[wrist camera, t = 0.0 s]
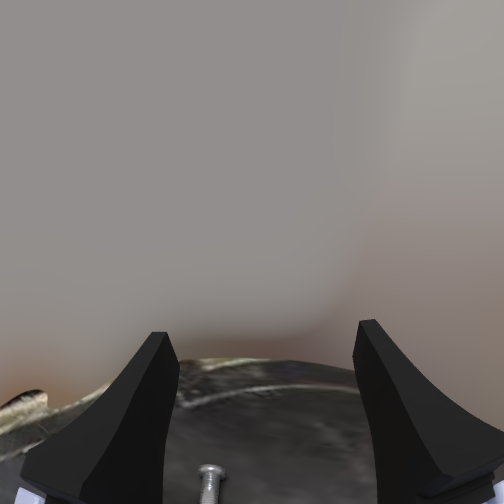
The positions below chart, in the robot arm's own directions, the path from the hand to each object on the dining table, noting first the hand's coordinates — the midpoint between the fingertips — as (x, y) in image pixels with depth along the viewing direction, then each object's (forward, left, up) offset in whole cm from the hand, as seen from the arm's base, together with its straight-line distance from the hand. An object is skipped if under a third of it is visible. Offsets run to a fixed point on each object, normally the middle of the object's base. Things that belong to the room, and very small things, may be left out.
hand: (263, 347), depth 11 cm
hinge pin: (-1, +6, -21) cm, 22 cm away
